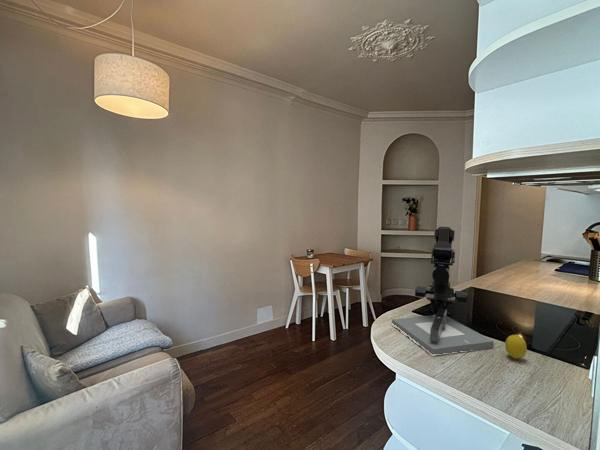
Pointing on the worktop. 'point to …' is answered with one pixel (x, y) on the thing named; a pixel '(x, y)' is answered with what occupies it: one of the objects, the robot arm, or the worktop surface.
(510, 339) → the lemon
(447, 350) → the cover plate
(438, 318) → the dark grey bar
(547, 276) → the worktop surface
